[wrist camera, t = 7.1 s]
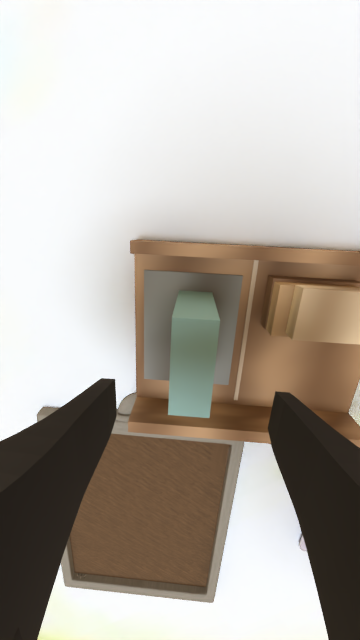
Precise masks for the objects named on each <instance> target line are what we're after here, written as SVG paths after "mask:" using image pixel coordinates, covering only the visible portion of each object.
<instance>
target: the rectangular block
mask: <svg viewBox="0 0 360 640" xmlns="http://www.w3.org/2000/svg"><path fill="white" fill-rule="evenodd" d="M219 327H220V318H219V315H218V311H217V308H216V304H215V301H214V297H213V293H212V292H197V291H180V290H179V293H178V296H177V300H176V304H175V308H174V311H173V315H172V327H171V352H170V378H169V403H168V415H175V416H188V417H201V418H210V409H211V399H212V390H213V381H214V372H215V363H216V354H217V345H218V336H219Z"/></svg>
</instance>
